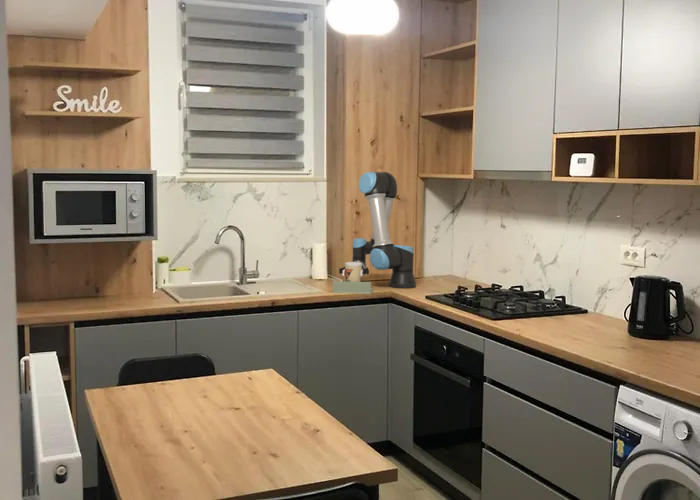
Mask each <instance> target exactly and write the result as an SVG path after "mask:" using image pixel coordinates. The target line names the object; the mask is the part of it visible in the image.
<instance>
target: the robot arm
mask: <svg viewBox="0 0 700 500" xmlns="http://www.w3.org/2000/svg"><path fill="white" fill-rule="evenodd" d="M358 187H359V191H360V192H361V193H362V194H364V198H365V200H367V201H368V207H369V214H370V219H371V227H372V234H371V238H370V240H369V241H368V240H367V239H366V238H363V237H362V238H361V237H359V238H358V237H357V238H356V237H355V238H353V241H352V261H351V262H360V263H362V270H361V277H363V275H364V276H365V275H370V268H369V267H367V263H366V261H367V260H366V259H367V255H369V261H370V264H371V267H373V268H375V269H376V270H378V271H386V270H392V272H391V275H390V279H389V281H388V287H390V288H397V289H413V288H416V287H417V281H416V279H415V278H416V277H415V275H414V254H415V253H414V248H413V247H412V246H409V245H401V244H394V242H393V241H392V240H391V238H390V237H391V235H390V231H389V221H390V216H391V213H392V209H393V203H394V200H395V199H396V198H397V195H398V183H397V180H396V178H395V176H394V175H393V174H392V173H390V172H385V171H368V172H367V171H366V172H365V173H362V175H361V177H360V178H359V182H358ZM338 274H341V275H342V276H343V277H345V266H343V267H340V268H339V269H338Z"/></svg>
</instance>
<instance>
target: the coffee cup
mask: <svg viewBox="0 0 700 500" xmlns="http://www.w3.org/2000/svg"><path fill="white" fill-rule="evenodd" d="M344 267H345V275H344V277H345V281H349V282H362V276H361V270H362V263H360V262H352V261H349V262H344Z"/></svg>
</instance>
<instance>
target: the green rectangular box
mask: <svg viewBox="0 0 700 500" xmlns="http://www.w3.org/2000/svg"><path fill="white" fill-rule="evenodd" d="M373 291H374V288H373V287H372V281H361V282H349V281H346V280H345V281H344V280H343V281H339V280H333V281H332V294H360V295H362V294H363V295H364V294H368V295H369V294H370V295H371V294H372V293H373Z"/></svg>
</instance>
